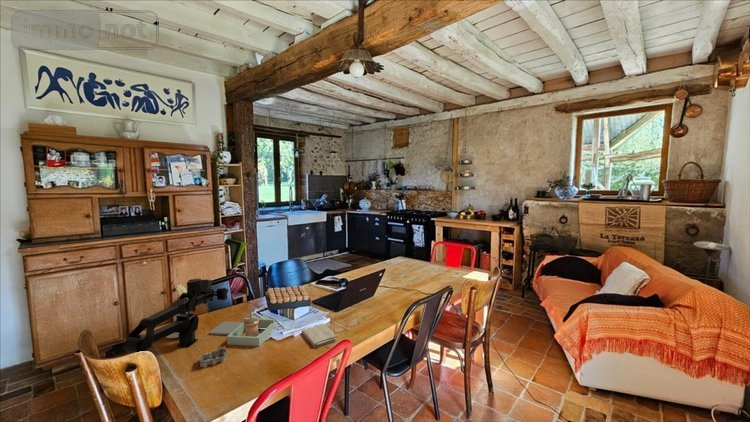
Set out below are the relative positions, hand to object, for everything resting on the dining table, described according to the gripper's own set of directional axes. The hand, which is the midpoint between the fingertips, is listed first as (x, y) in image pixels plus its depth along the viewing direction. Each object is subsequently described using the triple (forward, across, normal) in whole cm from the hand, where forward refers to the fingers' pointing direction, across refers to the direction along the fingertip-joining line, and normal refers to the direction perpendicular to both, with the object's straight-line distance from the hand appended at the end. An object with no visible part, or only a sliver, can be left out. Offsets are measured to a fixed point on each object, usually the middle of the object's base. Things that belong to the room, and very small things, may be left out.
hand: (220, 290), depth 173 cm
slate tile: (-8, -8, +18) cm, 22 cm away
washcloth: (-8, -58, +23) cm, 63 cm away
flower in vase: (-17, +13, +18) cm, 27 cm away
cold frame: (-13, -26, +20) cm, 35 cm away
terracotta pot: (-13, -26, +20) cm, 35 cm away
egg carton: (-34, -21, +22) cm, 46 cm away
